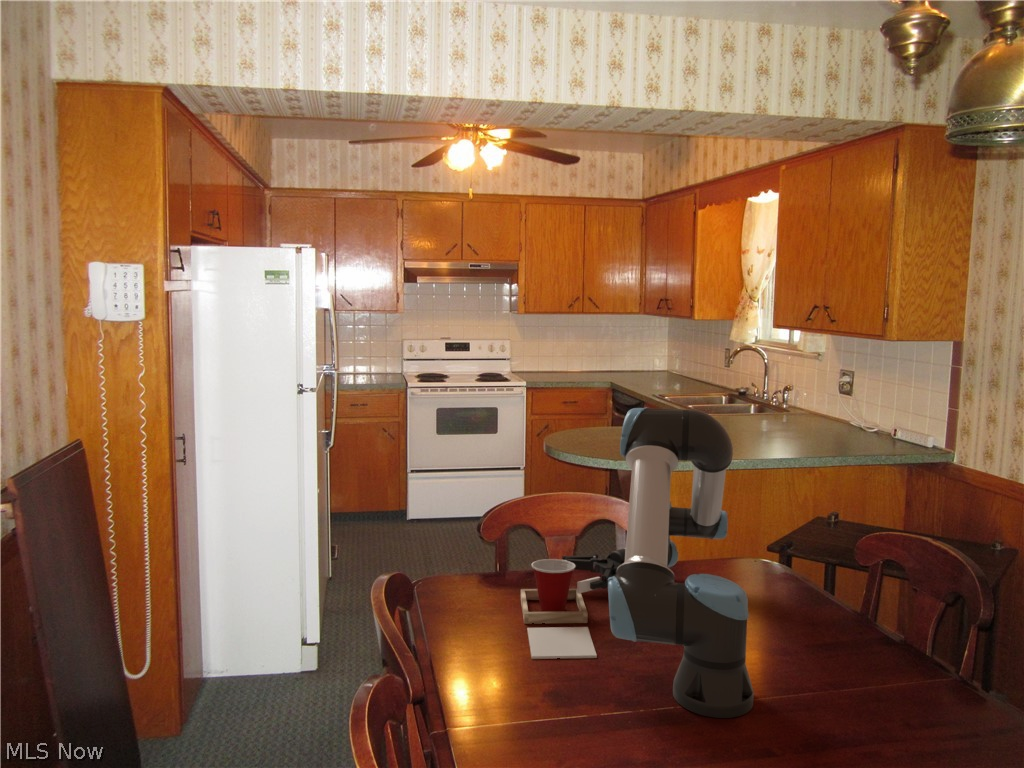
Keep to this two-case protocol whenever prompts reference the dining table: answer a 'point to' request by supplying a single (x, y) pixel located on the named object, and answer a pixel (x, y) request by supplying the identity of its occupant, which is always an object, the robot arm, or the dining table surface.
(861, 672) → the dining table surface
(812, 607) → the dining table surface
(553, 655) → the white tile
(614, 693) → the dining table surface
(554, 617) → the birch collar
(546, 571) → the plastic cup
